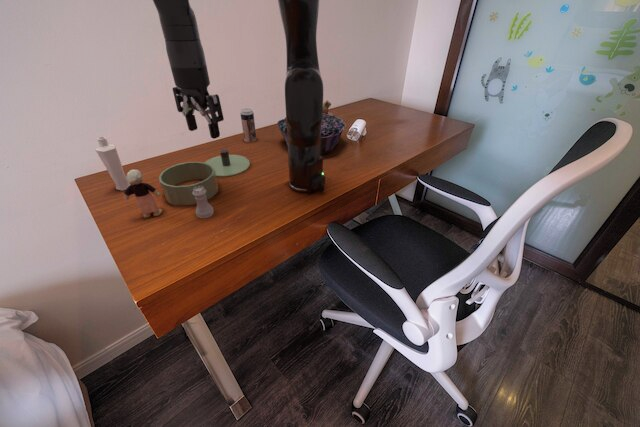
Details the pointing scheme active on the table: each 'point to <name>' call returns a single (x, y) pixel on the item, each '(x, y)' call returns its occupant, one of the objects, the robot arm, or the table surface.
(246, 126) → the beer can
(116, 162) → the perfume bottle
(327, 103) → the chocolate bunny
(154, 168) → the table surface
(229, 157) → the pot lid
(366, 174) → the table surface
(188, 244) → the table surface
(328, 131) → the decorative bowl
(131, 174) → the grandmother figurine
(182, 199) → the pot
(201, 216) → the rook chess piece
